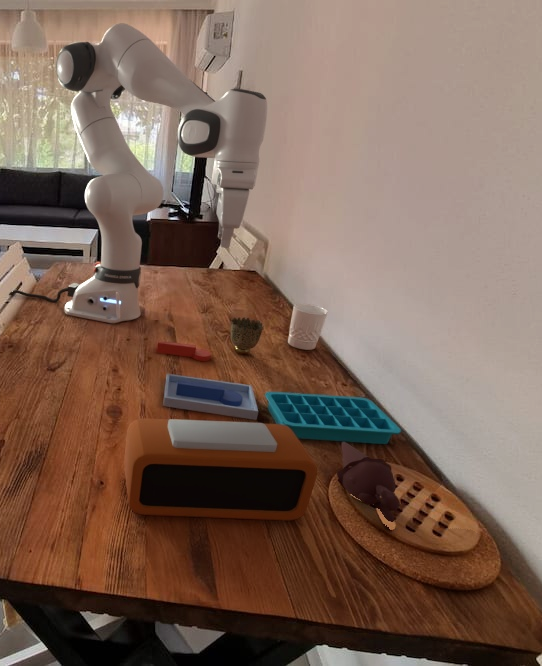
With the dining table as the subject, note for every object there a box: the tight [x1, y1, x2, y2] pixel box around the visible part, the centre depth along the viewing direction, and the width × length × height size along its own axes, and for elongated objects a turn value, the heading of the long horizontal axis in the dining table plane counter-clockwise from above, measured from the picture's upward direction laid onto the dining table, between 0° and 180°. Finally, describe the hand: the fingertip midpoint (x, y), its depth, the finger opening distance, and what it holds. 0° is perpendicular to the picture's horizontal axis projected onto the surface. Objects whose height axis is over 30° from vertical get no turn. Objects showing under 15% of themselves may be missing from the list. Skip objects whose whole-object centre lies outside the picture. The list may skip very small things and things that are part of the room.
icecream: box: [336, 441, 401, 532], centre depth 66 cm, size 7×7×15 cm
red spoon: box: [156, 340, 212, 362], centre depth 109 cm, size 13×4×3 cm, turn 78°
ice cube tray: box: [264, 391, 402, 445], centre depth 84 cm, size 12×20×3 cm, turn 87°
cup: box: [230, 317, 265, 355], centre depth 111 cm, size 8×7×8 cm
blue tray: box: [162, 373, 259, 421], centre depth 90 cm, size 17×10×2 cm, turn 78°
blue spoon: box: [176, 380, 243, 407], centre depth 90 cm, size 13×4×3 cm, turn 78°
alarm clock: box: [123, 418, 319, 521], centre depth 63 cm, size 24×8×11 cm, turn 90°
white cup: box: [287, 303, 329, 351], centre depth 117 cm, size 8×8×10 cm
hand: (223, 242), depth 100 cm, fingers open, 8 cm apart
